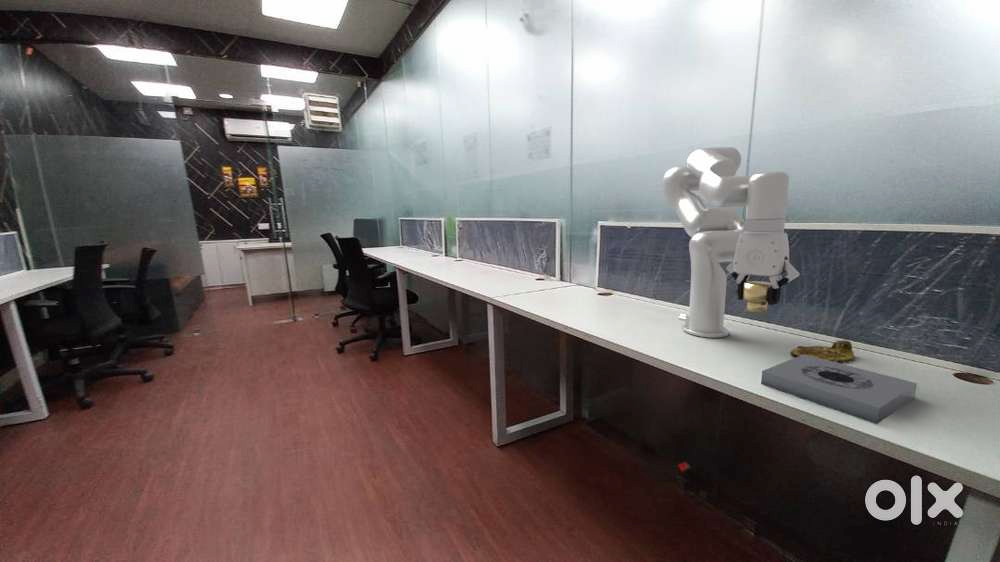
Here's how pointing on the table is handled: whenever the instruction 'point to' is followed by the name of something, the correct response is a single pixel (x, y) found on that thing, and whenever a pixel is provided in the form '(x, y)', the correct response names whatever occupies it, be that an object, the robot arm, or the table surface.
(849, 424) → the table surface
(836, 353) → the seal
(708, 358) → the table surface
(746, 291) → the gold cylinder
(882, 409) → the jig
